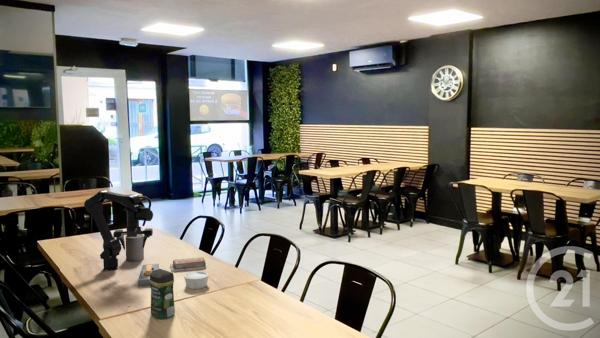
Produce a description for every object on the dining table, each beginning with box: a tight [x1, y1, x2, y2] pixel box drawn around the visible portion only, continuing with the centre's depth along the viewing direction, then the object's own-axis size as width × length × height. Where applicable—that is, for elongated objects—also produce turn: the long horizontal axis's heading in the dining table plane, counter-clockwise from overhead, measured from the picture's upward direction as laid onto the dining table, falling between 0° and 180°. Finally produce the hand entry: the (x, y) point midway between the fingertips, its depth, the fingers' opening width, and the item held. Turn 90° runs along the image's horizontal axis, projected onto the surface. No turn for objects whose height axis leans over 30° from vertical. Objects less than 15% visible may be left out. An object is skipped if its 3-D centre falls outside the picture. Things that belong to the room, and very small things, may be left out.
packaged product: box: [170, 257, 207, 273], centre depth 248 cm, size 18×5×10 cm
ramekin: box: [183, 271, 209, 290], centre depth 221 cm, size 11×11×5 cm
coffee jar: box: [150, 268, 176, 320], centre depth 187 cm, size 10×8×19 cm
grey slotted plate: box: [137, 263, 160, 287], centre depth 232 cm, size 24×8×3 cm, turn 13°
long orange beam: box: [145, 264, 152, 275], centre depth 232 cm, size 2×10×5 cm, turn 13°
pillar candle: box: [125, 234, 145, 263], centre depth 261 cm, size 10×10×15 cm
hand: (133, 249), depth 240 cm, fingers open, 9 cm apart
